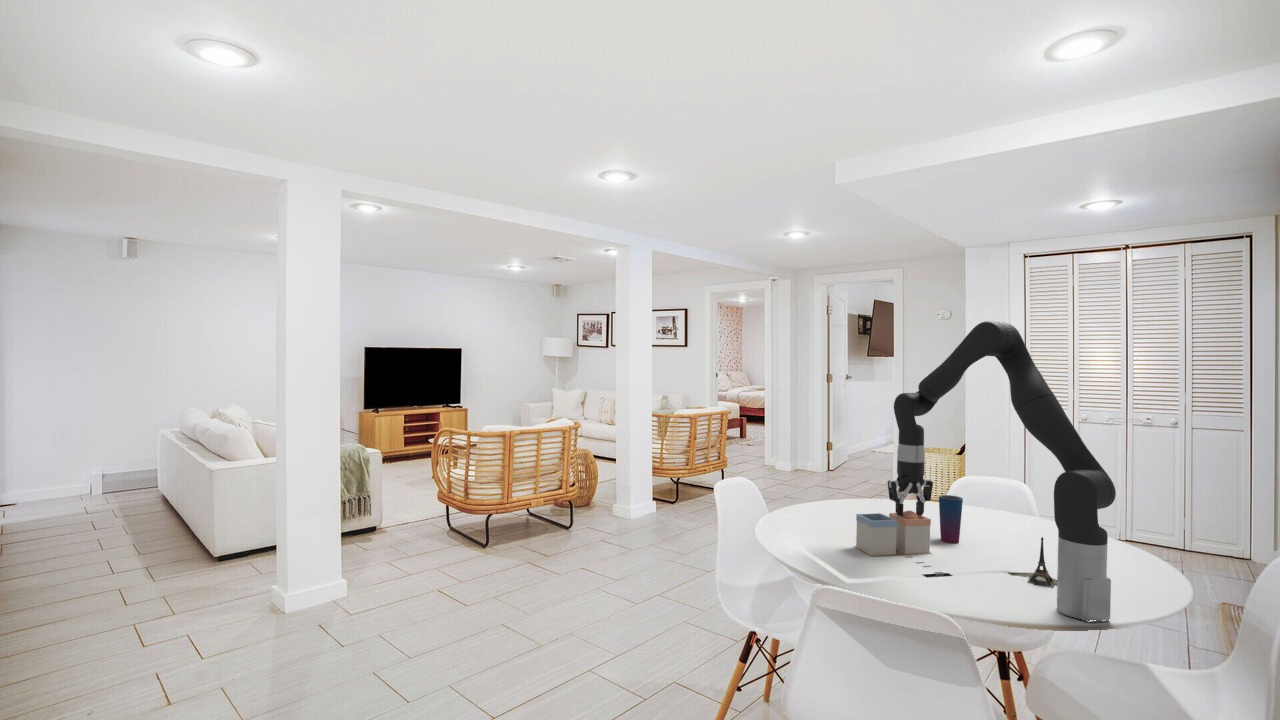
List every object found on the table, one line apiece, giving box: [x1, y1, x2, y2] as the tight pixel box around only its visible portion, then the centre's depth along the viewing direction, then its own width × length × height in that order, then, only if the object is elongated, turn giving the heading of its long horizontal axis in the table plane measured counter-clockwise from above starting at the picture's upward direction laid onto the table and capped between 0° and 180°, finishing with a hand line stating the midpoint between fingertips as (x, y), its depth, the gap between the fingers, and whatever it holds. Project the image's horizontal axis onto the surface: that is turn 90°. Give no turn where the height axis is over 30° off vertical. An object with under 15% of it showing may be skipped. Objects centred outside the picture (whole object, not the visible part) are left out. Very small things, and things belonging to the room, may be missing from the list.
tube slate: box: [855, 512, 897, 556], centre depth 183 cm, size 8×8×10 cm
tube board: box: [852, 545, 933, 558], centre depth 184 cm, size 10×20×1 cm, turn 101°
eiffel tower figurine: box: [1007, 536, 1057, 589], centre depth 162 cm, size 15×10×13 cm
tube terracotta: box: [888, 512, 932, 554], centre depth 185 cm, size 8×8×10 cm
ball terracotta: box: [900, 510, 919, 519], centre depth 185 cm, size 5×5×5 cm
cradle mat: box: [905, 555, 954, 578], centre depth 171 cm, size 14×8×1 cm, turn 11°
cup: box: [938, 494, 964, 544], centre depth 194 cm, size 7×7×15 cm
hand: (909, 514), depth 185 cm, fingers open, 6 cm apart
